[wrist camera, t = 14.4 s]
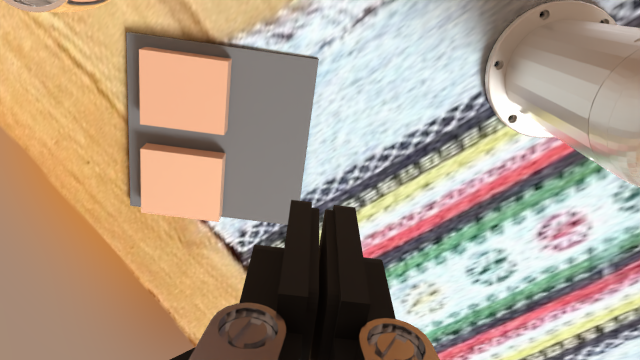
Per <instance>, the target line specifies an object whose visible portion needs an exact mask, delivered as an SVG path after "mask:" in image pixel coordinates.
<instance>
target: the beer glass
mask: <svg viewBox="0 0 640 360" xmlns="http://www.w3.org/2000/svg"><path fill="white" fill-rule="evenodd" d="M3 1H4V2H6V3H8V4H9V5H11V6H13V7H16V8H18V9H21V10H24V11H29V12H77V11H83V10H88V9H92V8H95V7H98V6H100V5H102V4H105V3H107V2H109V1H110V0H3Z"/></svg>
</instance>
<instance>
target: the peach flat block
mask: <svg viewBox="0 0 640 360" xmlns="http://www.w3.org/2000/svg"><path fill="white" fill-rule="evenodd" d="M140 160H141V212H142V213H150V214H158V215H167V216H175V217H183V218H192V219H200V220H208V221H216V222H219V220H220V218H221V215H222V209H223V192H224V176H225V160H226V153H220V152H213V151H205V150H197V149H189V148H182V147H174V146H166V145H158V144H150V143H146V144H145V145H144V146H143V147H142V148H141V149H140Z"/></svg>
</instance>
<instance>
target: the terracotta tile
mask: <svg viewBox="0 0 640 360" xmlns="http://www.w3.org/2000/svg"><path fill="white" fill-rule="evenodd" d="M231 64H232V59H230V58H223V57H215V56H208V55H201V54H194V53H187V52H180V51H172V50H165V49H158V48H151V47H144V48H141V49H139V85H140V124H142V125H150V126H158V127H165V128H173V129H181V130H188V131H196V132H204V133H211V134H219V135H224V134H225V133H226V131H227V129H228V113H229V97H230V80H231Z"/></svg>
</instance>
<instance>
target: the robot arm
mask: <svg viewBox="0 0 640 360" xmlns="http://www.w3.org/2000/svg"><path fill="white" fill-rule="evenodd" d="M541 12H542V13H543V15H542V16H541V17H540V13H541ZM600 21H601V23H600ZM496 61H498V65H497V66H494V64H495V62H496ZM485 89H486V94H487V98H488V101H489V104H490V106H491V108H492V110H493V111H494V113H495V114H496V115H497V117H498V118H499V119H500V120H501V121H502V122H503V123H504V124H506V125H507V126H508V127H510V128H511V129H513V130H515V131H516V132H518V133H521V134H524V135H527V136H530V137H538V138H549V137H556V138H558V139H559V140H561V141H562V142H564V143H566V144H567V145H569V146H570V147H572V148H573V149H575V150H576V151H578V152H580V153H581V154H583V155H584V156H586V157H587V158H589V159H590V160H592V161H594V162H595V163H597V164H598V165H600V166H601V167H603V168H605V169H606V170H608V171H610V172H611V173H613V174H614V175H616V176H618V177H619V178H621V179H623V180H624V181H626V182H628V183H630V184H632V185H635V186H637V187H640V28H635V27H627V26H619V25H617V24H616V22H615V21H614V19H613V18H612V17H611V16H609V15H608V14H607V13H606V12H605V11H604V10H602V9H600V8H598V7H597V6H595V5H593V4H589V3H586V2H582V1H574V0H561V1H553V2H549V3H545V4H541V5H539V6H537V7H535V8H532V9H530V10H528V11H527V12H525V13H524V14H522V15H521V16H519V17H518V18H516V19H515V20H514V21H513V22H512V23H511V24H510V25H509V26H508V27H507V28H506V29H505V30H504V32H503V33H502V34H501V36H500V37H499V38H498V40H497V41H496V43H495V45H494V47H493V49H492V51H491V53H490V56H489V59H488V62H487V66H486V73H485ZM510 115H511V118H510V119H508V118H509V116H510ZM170 360H440V359H439V357H438V355H437V353H436V351H435V349H434V347H433V345H432V343H431V342H430V341H429V339H428V338H427V336H426V335H425V334H424V333H422V332H421V331H420V330H419V329H418V328H416V327H414V326H412V325H411V324H409V323H406V322H403V321H400V320H397V319H396V318H395V314H394V310H393V305H392V301H391V296H390V292H389V288H388V283H387V279H386V274H385V270H384V266H383V262H382V260H380V259H373V258H364V257H363V253H362V247H361V241H360V234H359V228H358V222H357V216H356V209H355V208H354V207H346V206H338V205H334V207H333V210H325V214H324V220H323V226H322V233H321V239H320V245H319V209H318V208H312V202H306V201H298V200H291V204H290V212H289V219H288V226H287V234H286V241H285V248H280V247H272V246H263V245H254V248H253V252H252V256H251V260H250V264H249V268H248V271H247V275H246V279H245V283H244V287H243V291H242V295H241V299H240V303H239V304H234V305H231V306H227V307H225V308H224V309H222V310H220V311H219V312H217V313H216V315H215V316H214V317H213V318H212V319H211V321H210V323H209V325H208V326H207V328H206V330H205V332H204V333H203V335H202V337H201V339H200V340H199V342H198V344H197V346H196V347H195V348H193V349H191V350H189V351H187V352H185V353H183V354H181V355H179V356H177V357H175V358H172V359H170Z"/></svg>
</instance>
